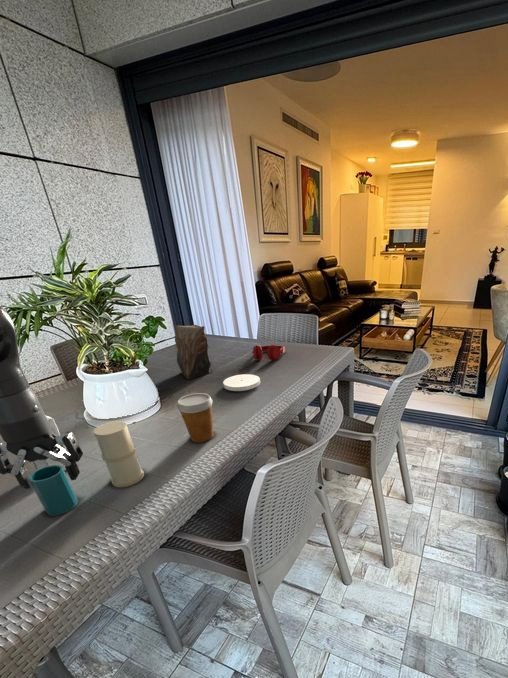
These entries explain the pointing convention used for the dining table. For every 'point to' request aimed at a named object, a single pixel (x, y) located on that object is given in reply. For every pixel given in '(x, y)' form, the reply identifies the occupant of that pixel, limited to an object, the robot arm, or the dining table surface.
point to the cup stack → (119, 453)
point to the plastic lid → (241, 382)
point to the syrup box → (49, 462)
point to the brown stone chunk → (192, 351)
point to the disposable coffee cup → (197, 416)
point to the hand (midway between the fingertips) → (52, 482)
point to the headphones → (268, 351)
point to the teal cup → (53, 489)
